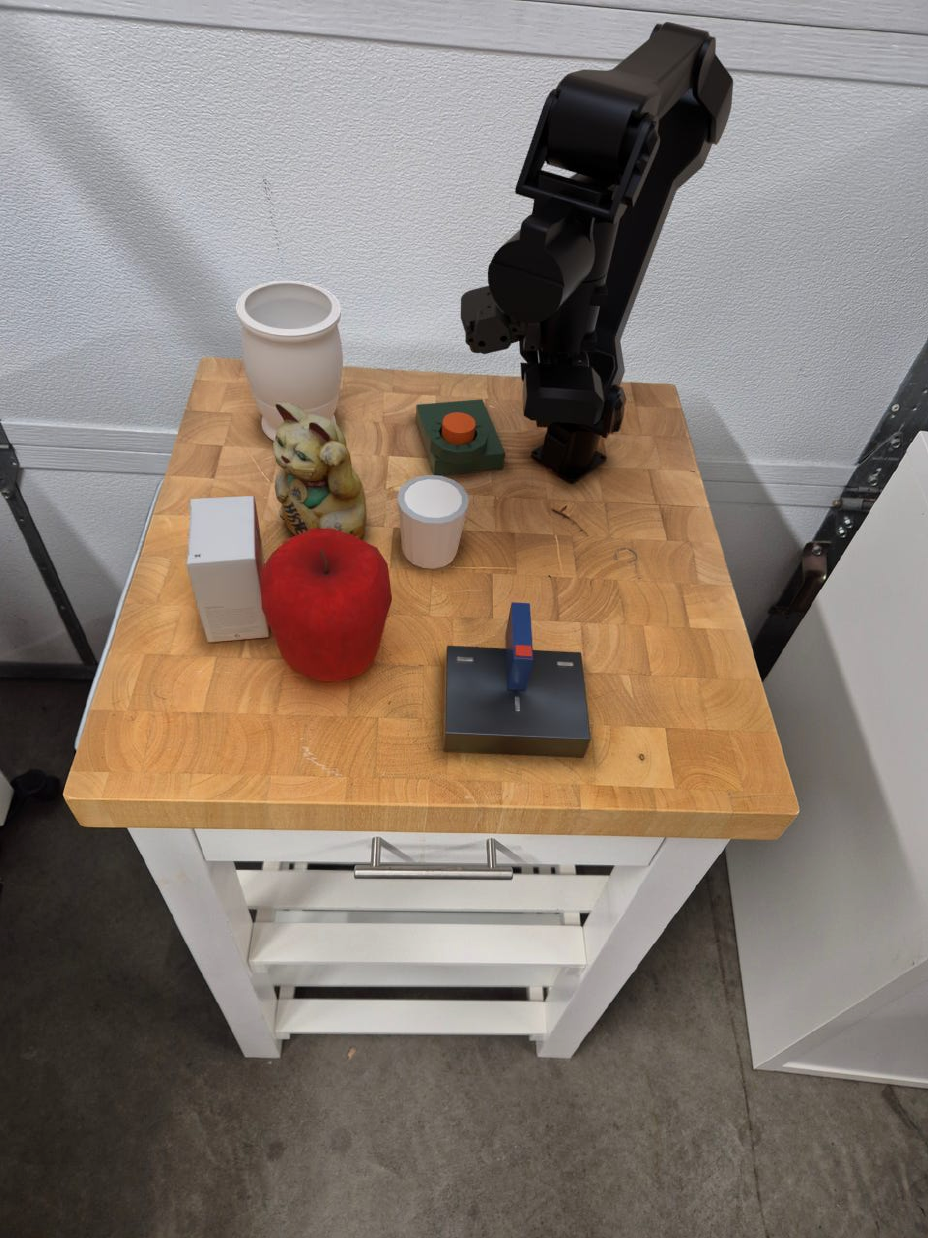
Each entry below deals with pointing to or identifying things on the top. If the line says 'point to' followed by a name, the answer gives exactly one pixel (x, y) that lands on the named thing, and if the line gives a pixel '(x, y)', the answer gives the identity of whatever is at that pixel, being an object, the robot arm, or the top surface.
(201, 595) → the small box
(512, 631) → the tap handle
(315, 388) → the jar
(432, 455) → the button base
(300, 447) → the lucky beckoning cat
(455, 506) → the white cup
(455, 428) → the button
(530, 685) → the tap plate
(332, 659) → the apple
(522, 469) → the top surface
